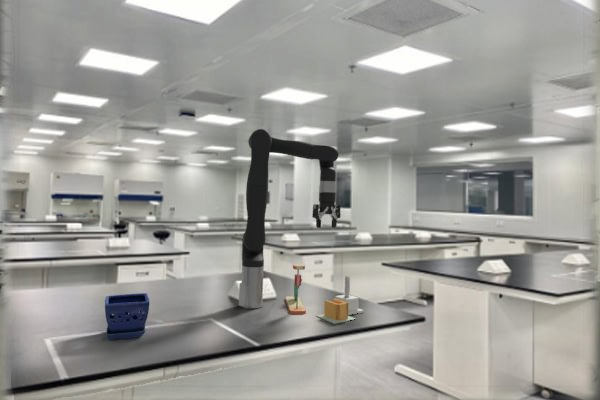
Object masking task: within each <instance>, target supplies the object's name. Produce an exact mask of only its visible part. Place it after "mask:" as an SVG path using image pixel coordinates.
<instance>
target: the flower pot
mask: <svg viewBox="0 0 600 400" xmlns="http://www.w3.org/2000/svg"><path fill="white" fill-rule="evenodd" d="M149 311H150V298H149V296H148V293H147V292H141V293H126V294H115V295H107V296H106V297H105V299H104V313H105V321H106V323H107V328H106V332H105V336H106V338H107V339H108V340H112V341H113V340H120V339H121V340H122V339H132V338H139V337H142V336H144V334H145V332H146V322H147V319H148V316H149Z"/></svg>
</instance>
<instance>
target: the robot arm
mask: <svg viewBox="0 0 600 400" xmlns="http://www.w3.org/2000/svg"><path fill="white" fill-rule="evenodd" d="M248 145H249V146H248V147H249V148H250V151H251V153H250V154H251V156H250V160H251V161H250V165H249V170H248V174H247V179H246V186H245V187H246V189H245V190H246V192H245V203H246V206H245V207H246V213H247V218H246V219H247V220H246V225H245V226H246V227H245V231H244V233H243V234H242V242H241V243H242V245H241V281H240V283H239V288H238V289H239V290H238V293H239V294H238V306H239V307H242V308H243V309H246V310H247V309H258V308H262V307H263V297H264V295H263V293H264V271H265V269H264V267H265V265H264V263H265V260H264V246H265V244H266V226H265V224H266V221H265V220H266V212H267V211H266V210H267V205H268V197H269V162H270V161H269V160H270V159H269V158H270V153H274V154H275V153H276V154H283V155H288V156H292V157H296V158H302V159H306V160H318V162H319V169H320V175H319V187H318V189H319V190H318V202H319V204H317V203H315V204H313V206H312V219H313V218H314V219H315V226H316V228H317V229H321V228H322V218H323V217H324V215H329V216H330V217H331V228H333V229H335V228H336V227H337V224H338V223H337V222H338V221H337V220H338V219H341V205H340V204H336V202H337V201H336V199H337V184H336V183H337V181H336V180H337V178H336V177H337V172H336V169H335V167H334V166H335V165H334V164H335V163H334V162H335V161H337V160H338V158H339V150H338V149H337V148H336V147H334V146H332V145H325V144H324V145H323V144H314V143H311V142H307V141H306V142H305V141H300V140H288V139H281V138H275V137H272V135H271V134H270V133H269V132H268V131H267V130H266V129H264V128H260V129H255V130H254V131H253V132H252V133H251V135H250V136H249V138H248Z"/></svg>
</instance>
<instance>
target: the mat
mask: <svg viewBox="0 0 600 400" xmlns="http://www.w3.org/2000/svg"><path fill="white" fill-rule="evenodd" d="M316 317H318V318H319V319H321V320H324V321H327V322H329V323H331V324H333V325H335V324H340V323H345V322H350V320H352V321H355V320H354V319H356V320H357V318H355V317H353V316H351V315H348V319H343V320H338V321H337V320H334V319H332V318H329V317H327V316H324V313H323V314H322V313H321V314H317V315H316Z"/></svg>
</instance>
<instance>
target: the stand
mask: <svg viewBox="0 0 600 400" xmlns="http://www.w3.org/2000/svg"><path fill="white" fill-rule="evenodd" d="M350 285H351V277H350V276H346V275H345V276H344V294H340V295H335V296H334V299H337V300H340V301H343V302H346V303H348V316H351V315H352V314H353V315H358V314H363V313H364V311H365V310H364V309H362V308H359V303H360V302H359V301H360V299H359V298H360V297H357V296H354V295H350V292H351V291H350V290H351V289H350ZM357 313H358V314H357Z"/></svg>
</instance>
